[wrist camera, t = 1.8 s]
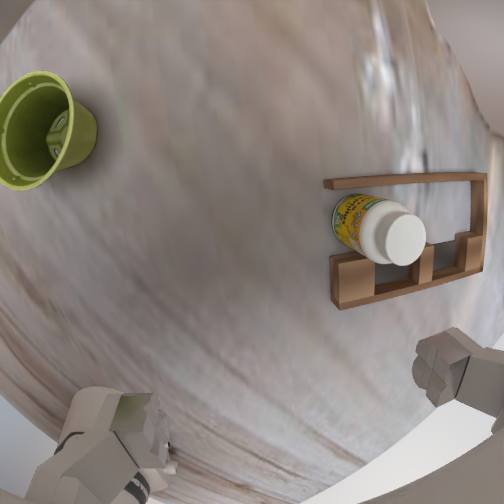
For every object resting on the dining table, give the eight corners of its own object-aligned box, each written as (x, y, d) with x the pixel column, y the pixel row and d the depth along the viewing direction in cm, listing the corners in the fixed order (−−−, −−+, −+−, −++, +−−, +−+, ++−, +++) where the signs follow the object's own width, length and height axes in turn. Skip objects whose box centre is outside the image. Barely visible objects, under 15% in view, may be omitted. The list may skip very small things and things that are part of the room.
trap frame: (470, 265, 33) (482, 271, 30) (331, 300, 31) (339, 310, 29) (474, 172, 29) (487, 173, 27) (323, 179, 28) (333, 180, 25)
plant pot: (72, 202, 26) (25, 216, 17) (23, 146, 23) (-28, 144, 15) (131, 129, 25) (97, 114, 16) (76, 76, 22) (34, 51, 14)
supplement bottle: (352, 255, 30) (400, 289, 21) (319, 219, 29) (363, 242, 20) (385, 219, 30) (442, 239, 20) (355, 181, 28) (410, 190, 19)
